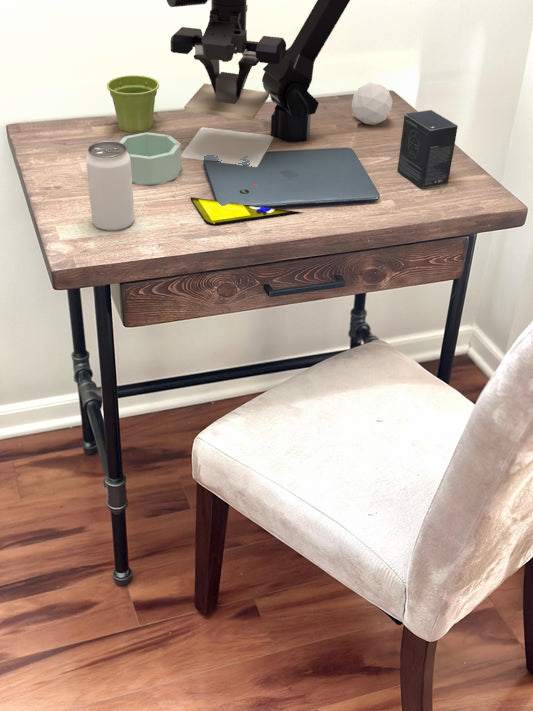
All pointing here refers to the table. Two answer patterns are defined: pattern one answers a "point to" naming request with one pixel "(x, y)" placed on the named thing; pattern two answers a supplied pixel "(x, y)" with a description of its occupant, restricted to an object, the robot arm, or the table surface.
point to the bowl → (153, 157)
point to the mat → (228, 146)
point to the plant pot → (134, 101)
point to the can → (110, 185)
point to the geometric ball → (372, 103)
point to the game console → (234, 211)
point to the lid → (227, 99)
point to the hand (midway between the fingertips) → (227, 95)
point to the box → (426, 148)
